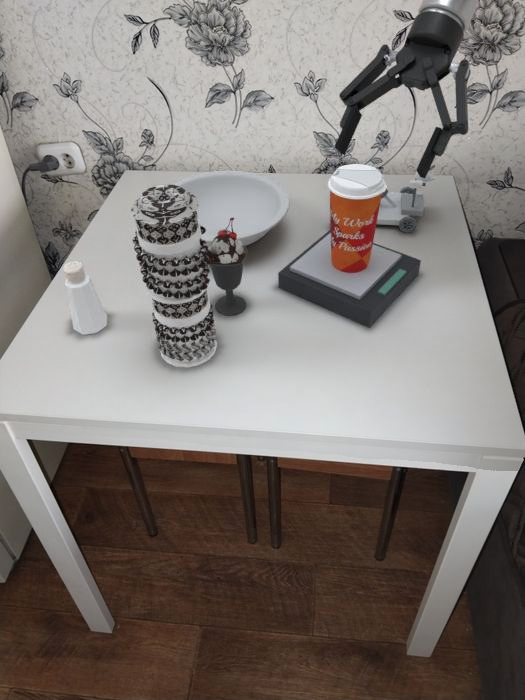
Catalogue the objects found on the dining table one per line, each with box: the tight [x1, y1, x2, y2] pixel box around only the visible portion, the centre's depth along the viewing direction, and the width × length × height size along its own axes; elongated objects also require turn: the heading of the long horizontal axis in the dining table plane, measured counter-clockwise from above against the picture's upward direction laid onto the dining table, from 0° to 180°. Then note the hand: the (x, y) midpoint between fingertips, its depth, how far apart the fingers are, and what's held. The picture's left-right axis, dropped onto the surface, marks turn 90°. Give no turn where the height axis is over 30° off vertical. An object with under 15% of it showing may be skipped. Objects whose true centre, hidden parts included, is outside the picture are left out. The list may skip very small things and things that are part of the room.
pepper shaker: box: [62, 260, 108, 336], centre depth 88 cm, size 5×5×11 cm
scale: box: [277, 228, 422, 328], centre depth 96 cm, size 17×16×4 cm
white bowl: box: [171, 169, 290, 248], centre depth 106 cm, size 24×24×7 cm
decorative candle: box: [130, 183, 218, 368], centre depth 78 cm, size 9×9×25 cm
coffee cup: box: [327, 163, 388, 273], centre depth 89 cm, size 8×8×15 cm
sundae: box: [206, 218, 249, 316], centre depth 88 cm, size 7×7×15 cm
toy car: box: [329, 164, 436, 234], centre depth 108 cm, size 18×10×12 cm
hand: (378, 162), depth 87 cm, fingers open, 13 cm apart
